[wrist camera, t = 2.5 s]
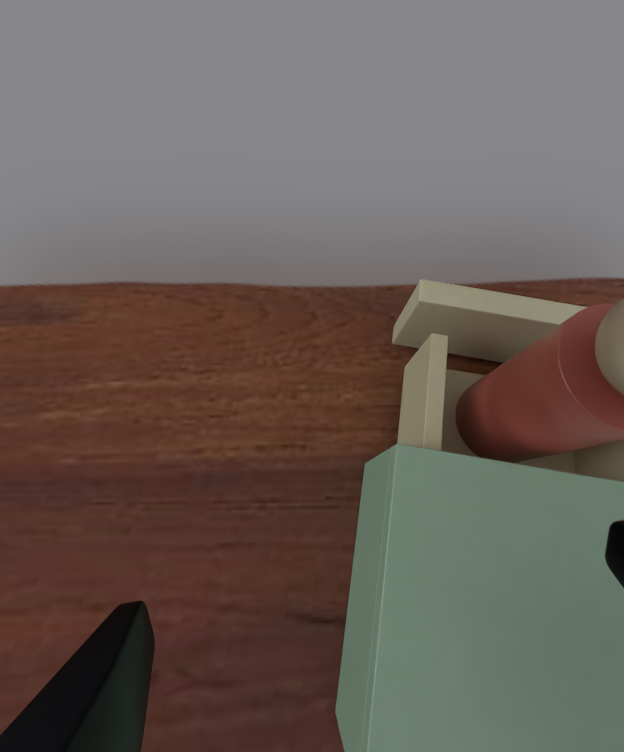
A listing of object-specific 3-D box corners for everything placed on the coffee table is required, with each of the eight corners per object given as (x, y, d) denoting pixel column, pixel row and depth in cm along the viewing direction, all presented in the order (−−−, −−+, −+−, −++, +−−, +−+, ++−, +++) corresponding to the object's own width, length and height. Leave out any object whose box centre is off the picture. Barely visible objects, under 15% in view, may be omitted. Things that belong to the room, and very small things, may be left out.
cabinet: (364, 462, 24) (396, 443, 17) (589, 501, 24) (716, 497, 17) (334, 713, 20) (360, 821, 13) (601, 757, 20) (769, 889, 13)
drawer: (395, 308, 26) (422, 256, 20) (583, 340, 26) (657, 297, 20) (373, 509, 22) (400, 508, 17) (593, 546, 22) (686, 556, 17)
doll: (551, 456, 22) (871, 390, 10) (468, 471, 22) (698, 420, 10) (523, 374, 23) (775, 228, 11) (445, 386, 23) (620, 248, 11)
